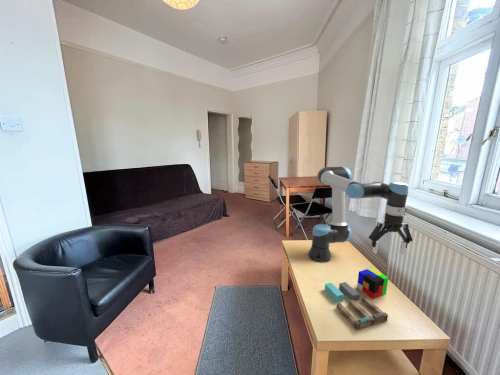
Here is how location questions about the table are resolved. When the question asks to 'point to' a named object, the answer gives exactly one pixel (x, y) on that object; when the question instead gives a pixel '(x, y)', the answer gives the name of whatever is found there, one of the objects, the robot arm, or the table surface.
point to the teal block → (334, 292)
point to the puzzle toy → (372, 282)
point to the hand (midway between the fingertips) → (388, 252)
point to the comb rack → (363, 314)
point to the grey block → (348, 291)
